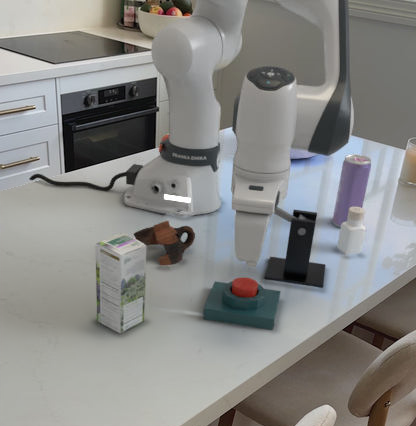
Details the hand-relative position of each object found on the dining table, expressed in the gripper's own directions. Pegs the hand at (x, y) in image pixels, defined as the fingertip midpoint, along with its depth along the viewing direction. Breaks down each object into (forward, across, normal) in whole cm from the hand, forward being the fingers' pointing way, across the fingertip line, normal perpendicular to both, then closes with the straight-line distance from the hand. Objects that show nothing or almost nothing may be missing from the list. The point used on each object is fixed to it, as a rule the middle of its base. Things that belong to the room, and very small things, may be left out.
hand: (251, 262), depth 112 cm
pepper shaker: (+10, -30, +18) cm, 36 cm away
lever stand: (+9, -16, +7) cm, 20 cm away
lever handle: (-2, -16, +2) cm, 16 cm away
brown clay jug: (+9, -16, -19) cm, 26 cm away
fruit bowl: (+9, -91, -1) cm, 92 cm away
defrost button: (+6, 0, -1) cm, 6 cm away
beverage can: (+10, -45, +17) cm, 49 cm away
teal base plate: (+9, 0, -1) cm, 9 cm away
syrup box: (+9, +10, -20) cm, 24 cm away
